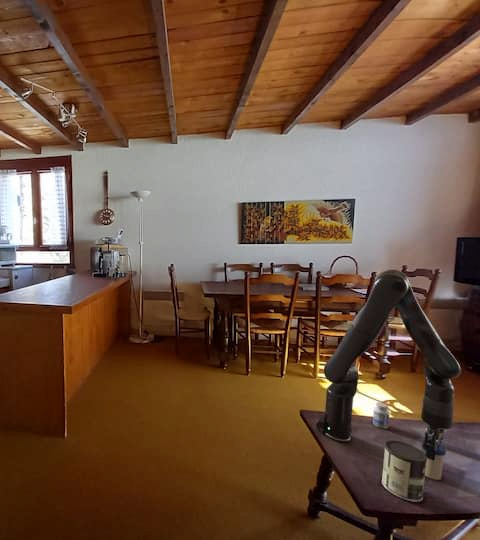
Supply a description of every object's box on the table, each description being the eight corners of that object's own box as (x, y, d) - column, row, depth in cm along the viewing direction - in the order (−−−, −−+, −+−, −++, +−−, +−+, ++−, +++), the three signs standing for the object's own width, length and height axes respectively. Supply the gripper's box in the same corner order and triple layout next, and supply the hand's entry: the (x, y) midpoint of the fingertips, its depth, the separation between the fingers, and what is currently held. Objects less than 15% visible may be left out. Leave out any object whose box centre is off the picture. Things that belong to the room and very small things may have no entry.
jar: (423, 476, 107) (426, 448, 106) (417, 466, 112) (419, 439, 111) (444, 482, 105) (447, 453, 104) (436, 471, 110) (439, 444, 109)
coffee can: (417, 485, 103) (421, 446, 102) (427, 507, 95) (432, 465, 93) (378, 472, 109) (381, 436, 107) (384, 493, 100) (388, 453, 99)
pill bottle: (382, 422, 139) (384, 402, 138) (391, 429, 134) (393, 408, 133) (369, 421, 140) (371, 401, 139) (378, 428, 135) (380, 407, 134)
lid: (447, 452, 107) (447, 446, 106) (443, 458, 103) (443, 452, 103) (424, 443, 111) (424, 438, 111) (420, 448, 108) (420, 443, 108)
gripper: (447, 422, 99) (442, 470, 101) (457, 409, 107) (452, 453, 108) (416, 411, 105) (412, 456, 107) (428, 399, 113) (423, 442, 115)
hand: (432, 455), depth 108 cm, fingers closed on lid, 5 cm apart
